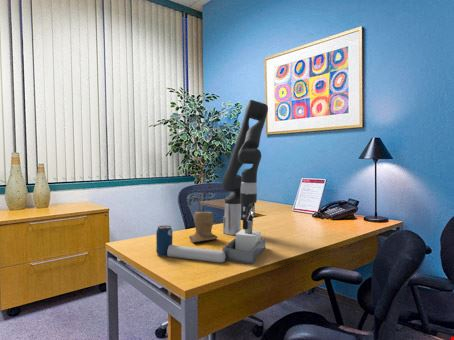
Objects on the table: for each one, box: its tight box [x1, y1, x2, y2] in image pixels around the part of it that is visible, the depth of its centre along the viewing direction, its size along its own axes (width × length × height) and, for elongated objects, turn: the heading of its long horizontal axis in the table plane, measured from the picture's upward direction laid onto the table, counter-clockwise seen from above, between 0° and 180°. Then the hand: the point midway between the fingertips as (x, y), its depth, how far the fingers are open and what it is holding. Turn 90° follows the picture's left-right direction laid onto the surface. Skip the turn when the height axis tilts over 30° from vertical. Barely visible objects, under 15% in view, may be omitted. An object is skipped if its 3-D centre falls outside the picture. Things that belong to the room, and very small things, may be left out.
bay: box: [221, 237, 266, 265], centre depth 137 cm, size 13×24×5 cm, turn 161°
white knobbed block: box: [234, 221, 262, 251], centre depth 142 cm, size 10×9×12 cm
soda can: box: [155, 225, 173, 257], centre depth 135 cm, size 7×7×12 cm
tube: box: [166, 244, 226, 264], centre depth 129 cm, size 5×5×25 cm
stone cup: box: [188, 211, 219, 243], centre depth 158 cm, size 15×12×15 cm
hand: (247, 227), depth 141 cm, fingers open, 8 cm apart
